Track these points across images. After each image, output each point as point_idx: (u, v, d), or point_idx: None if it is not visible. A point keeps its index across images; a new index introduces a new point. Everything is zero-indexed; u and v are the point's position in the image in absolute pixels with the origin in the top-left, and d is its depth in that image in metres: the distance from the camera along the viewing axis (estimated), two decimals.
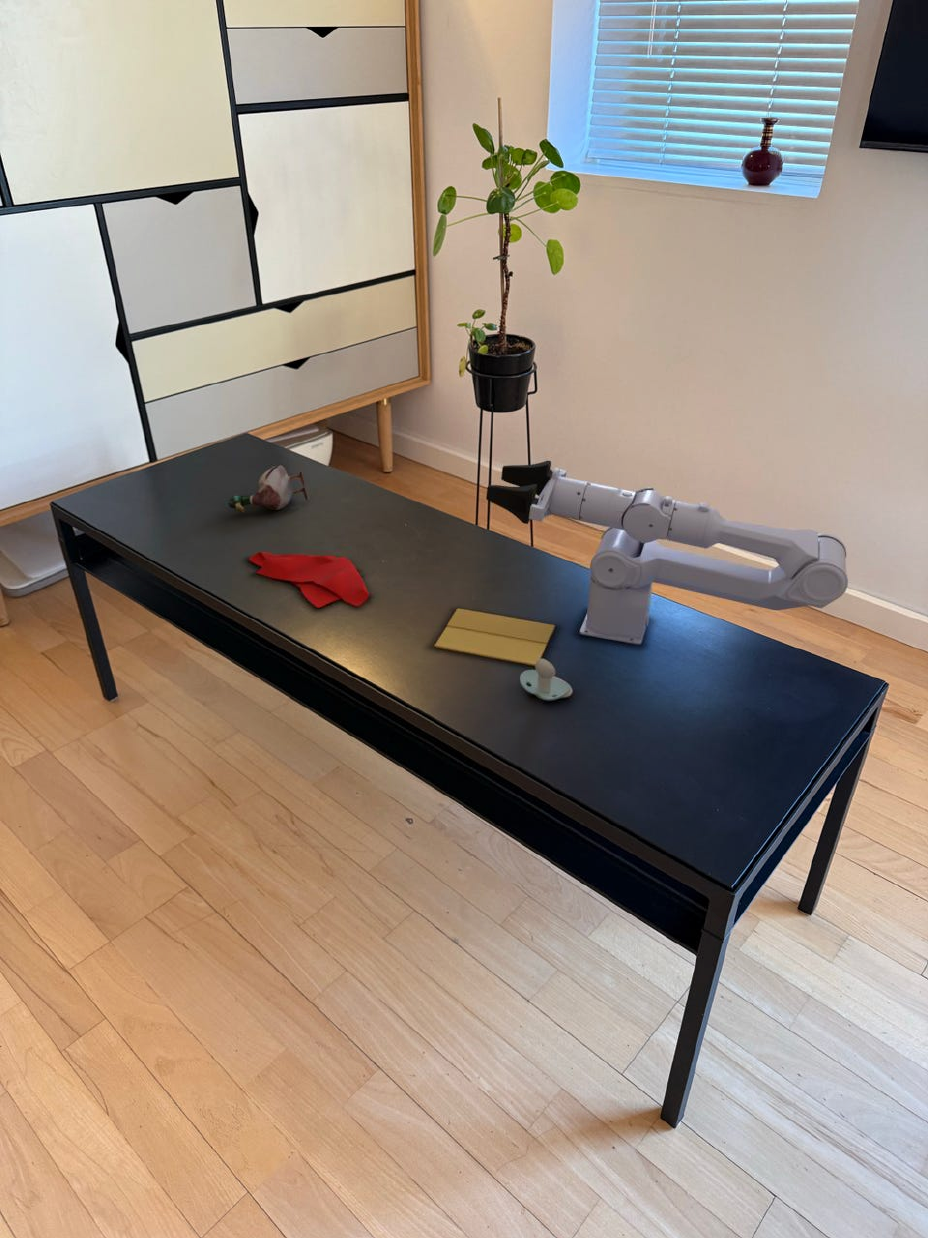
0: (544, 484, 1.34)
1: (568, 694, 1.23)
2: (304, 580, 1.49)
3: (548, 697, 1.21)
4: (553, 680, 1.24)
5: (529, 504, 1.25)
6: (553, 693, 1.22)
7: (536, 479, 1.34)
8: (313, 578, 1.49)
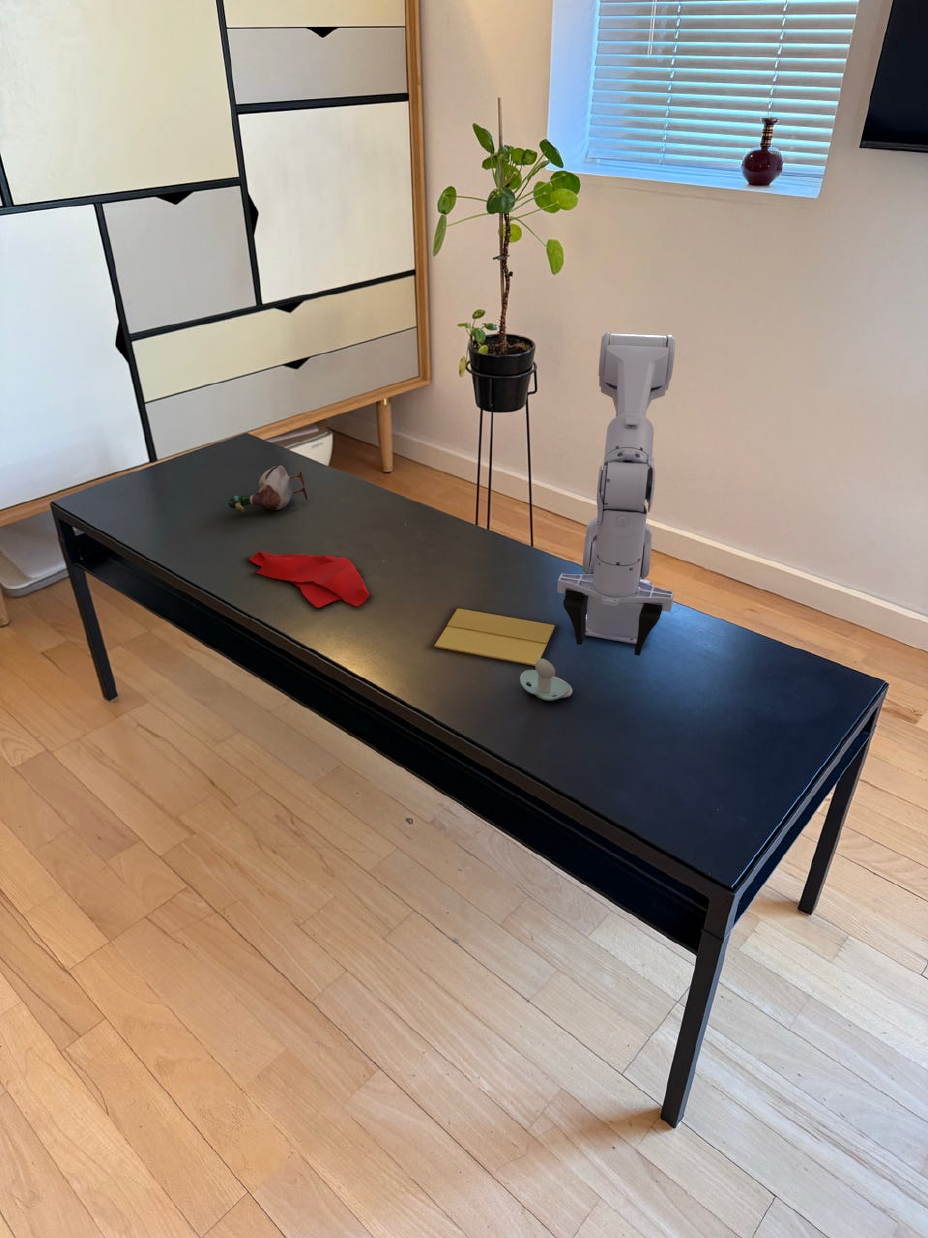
0: (586, 596, 1.15)
1: (568, 694, 1.23)
2: (304, 580, 1.49)
3: (548, 697, 1.21)
4: (553, 680, 1.24)
5: None
6: (553, 693, 1.22)
7: (584, 606, 1.15)
8: (313, 578, 1.49)
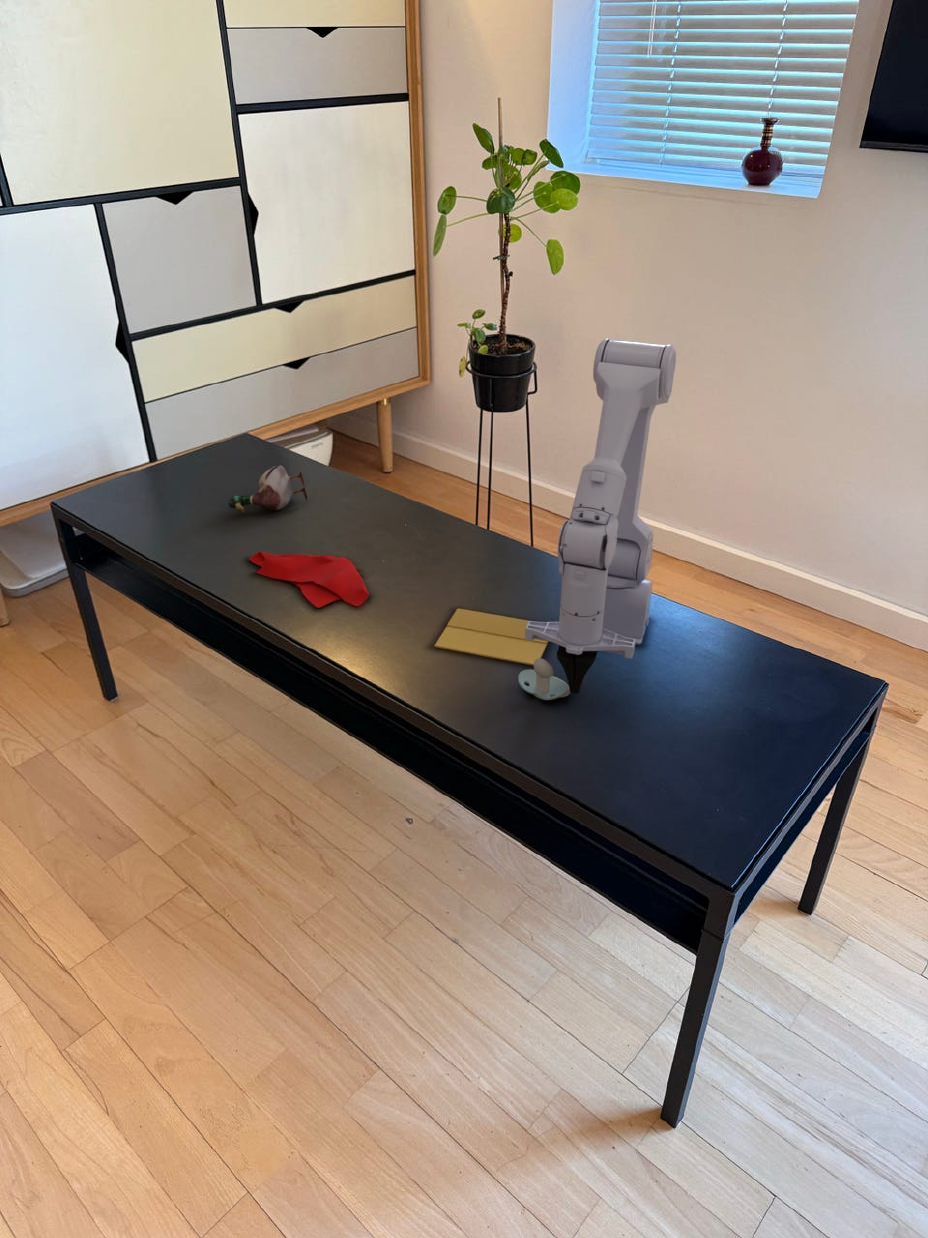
0: None
1: (566, 694, 1.23)
2: (304, 580, 1.49)
3: (546, 697, 1.21)
4: (551, 680, 1.25)
5: (596, 654, 1.17)
6: (552, 692, 1.22)
7: None
8: (313, 578, 1.49)
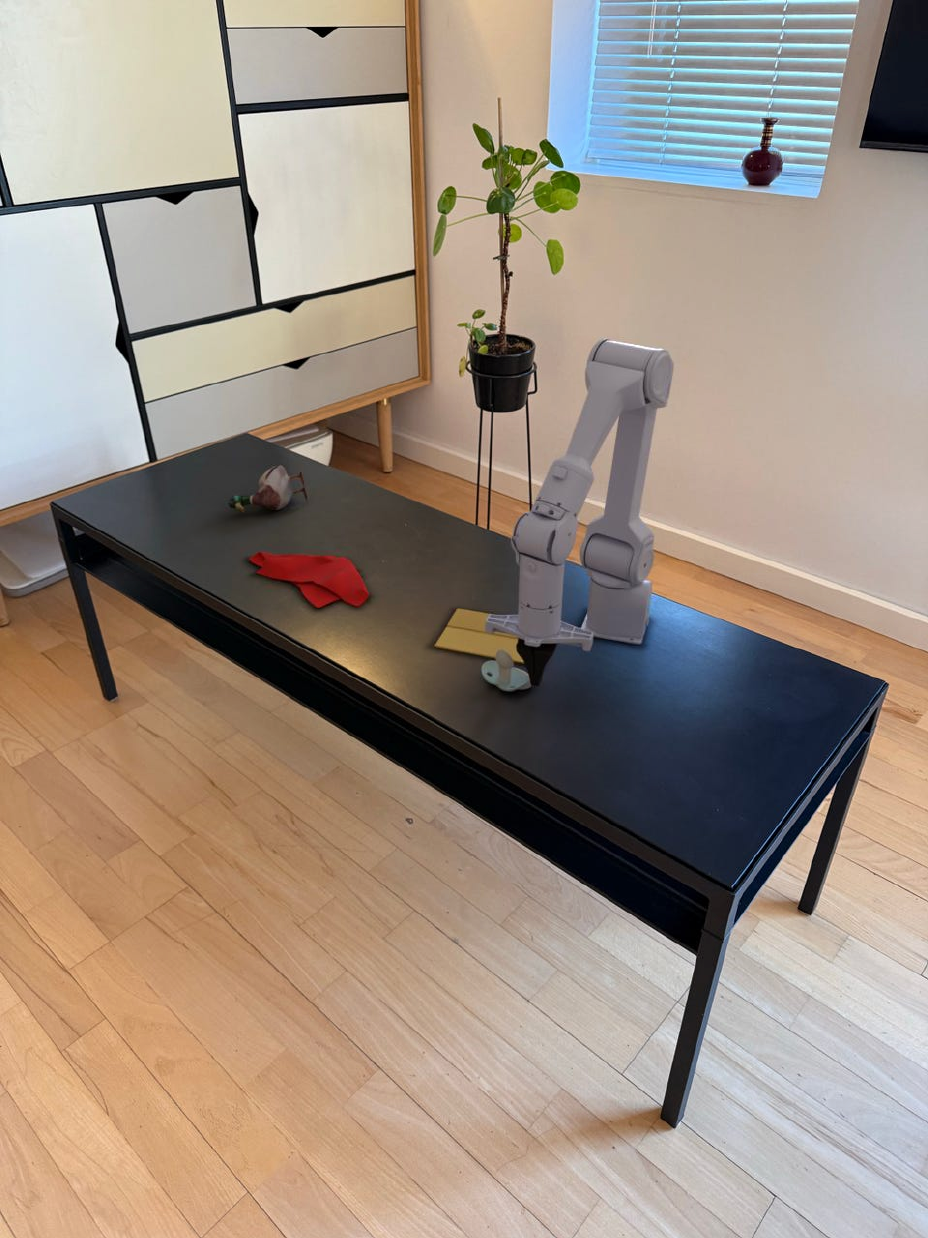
0: None
1: (527, 686, 1.24)
2: (304, 580, 1.49)
3: (506, 688, 1.23)
4: (515, 672, 1.26)
5: (555, 646, 1.19)
6: (513, 684, 1.24)
7: None
8: (313, 578, 1.49)
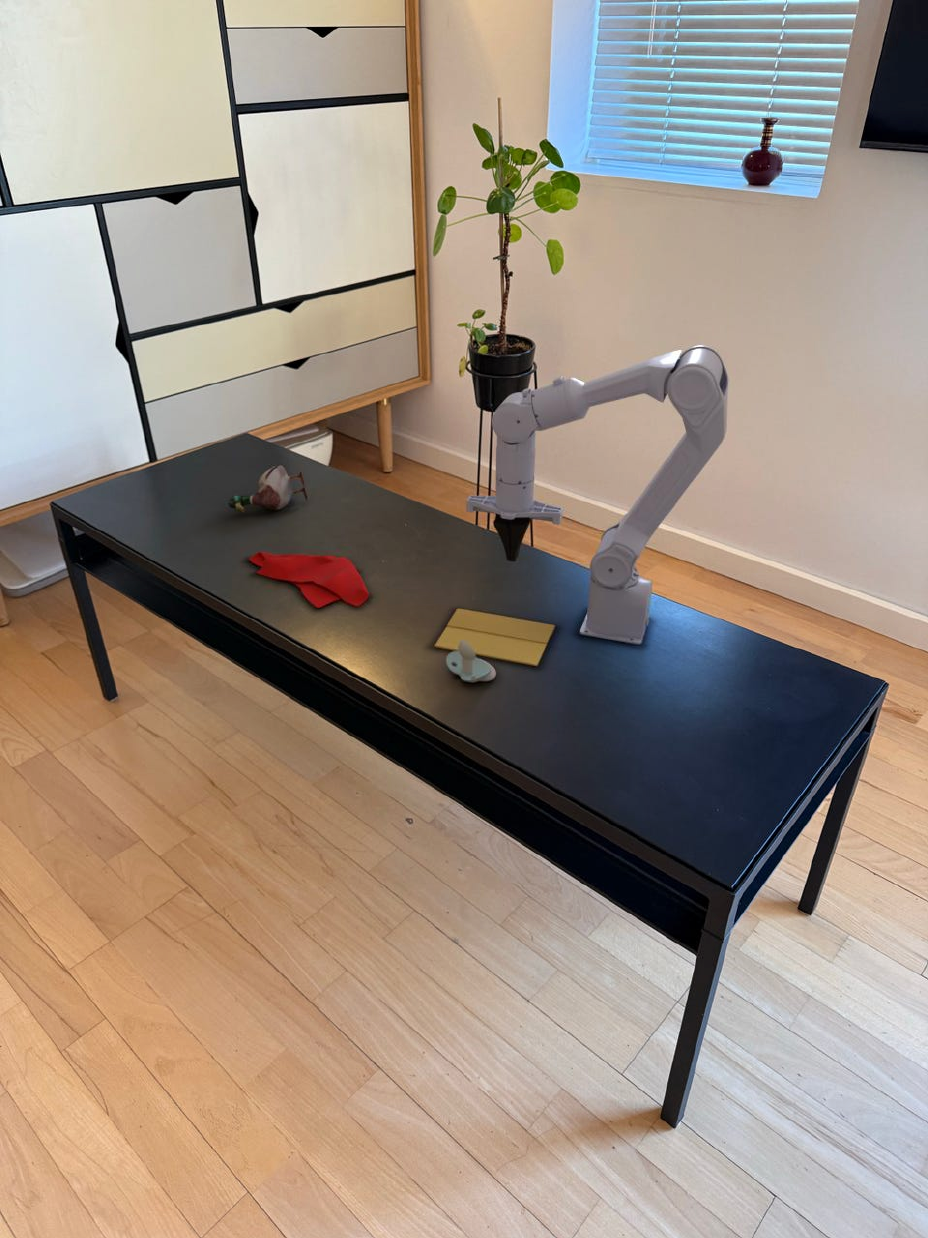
0: None
1: (489, 678, 1.26)
2: (304, 580, 1.49)
3: (467, 678, 1.25)
4: (479, 663, 1.28)
5: (529, 522, 1.33)
6: (474, 675, 1.26)
7: None
8: (313, 578, 1.49)
